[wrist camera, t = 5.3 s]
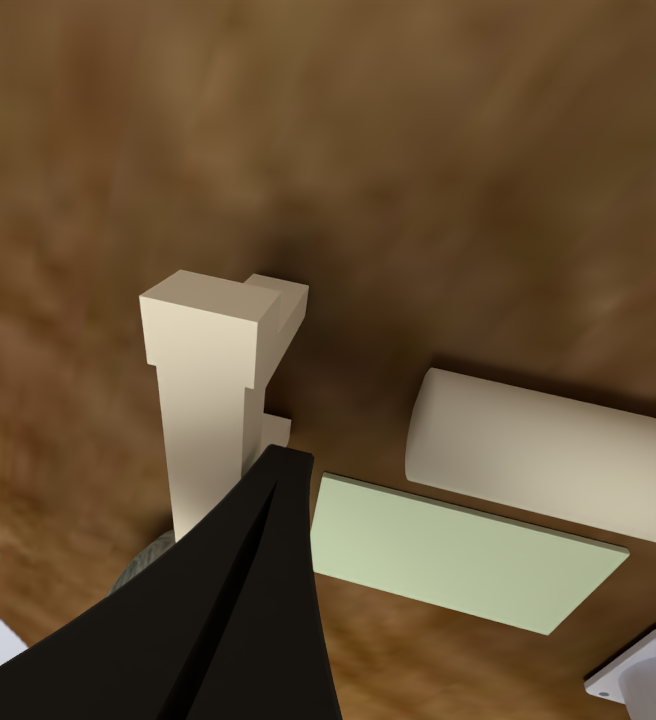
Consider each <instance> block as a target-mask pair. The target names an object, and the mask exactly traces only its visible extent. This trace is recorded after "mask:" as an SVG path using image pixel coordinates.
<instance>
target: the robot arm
mask: <svg viewBox="0 0 656 720" xmlns="http://www.w3.org/2000/svg"><path fill="white" fill-rule="evenodd" d="M313 463H314V456H313V455H312V454H311V453H307V452H303V451H299V450H295V449H291V448H287V447H283V446H279V445H275V444H270V445H268V446H267V447H266V449H265V450H264V452H263V453H262V454H261V456H260V457H259V458H258V459H257V461H256V462H255V463H254V464H253V466H252V467H251V468H250V469H249V470H248V472H247V473H246V474H245V475H244V476H243V477H242V479H241V480H240V481H239V482H238V483H237V484H236V485H235V486H234V487H233V488H232V489H231V490H230V492H229V493H228V494H227V495H226V496H225V497H224V498H223V499H222V500H221V501H220V502H219V503H218V504H217V505H216V506H215V507H214V508H213V509H212V510H211V511H210V512H209V513H208V514H207V515H206V516H205V517H204V518H203V519H202V520H201V521H200V522H199V523H197V524H196V525H195V526H194V527H193V528H192V529H191V530H190V531H189V532H188V533H187V534H186V535H184V536H183V537H182V538H181V539H180V540H179V541H178V542H176V543H175V544H174V545H173V546H172V547H171V548H169V549H168V550H167V551H166V552H165V553H163V554H162V555H161V556H160V557H159V558H157V559H156V560H155V561H154V562H152V563H151V564H150V565H149V566H147V567H146V568H145V569H143V570H142V571H141V572H140V573H138V574H137V575H136V576H134V577H133V578H132V579H131V580H129V581H128V582H127V583H125V584H124V585H123V586H121V587H120V588H118V589H117V590H116V591H114V592H113V593H112V594H110V595H109V596H107V597H106V598H104V599H103V600H101V601H100V602H99V603H97V604H96V605H94V606H93V607H91V608H90V609H88V610H87V611H85V612H84V613H83V614H81V615H80V616H78V617H77V618H75V619H74V620H72V621H71V622H69V623H68V624H66V625H65V626H63V627H62V628H60V629H59V630H57V631H56V632H54V633H53V634H51V635H49V636H48V637H46V638H44V639H43V640H41V641H40V642H38V643H36V644H35V645H33V646H32V647H30V648H28V649H27V650H25V651H24V652H22V653H20V654H19V655H17V656H15V657H14V658H12V659H11V660H9V661H7V662H6V663H4V664H2V665H1V666H0V720H343V719H342V715H341V711H340V707H339V703H338V699H337V695H336V691H335V686H334V682H333V678H332V673H331V668H330V663H329V659H328V654H327V649H326V644H325V640H324V635H323V629H322V624H321V618H320V612H319V606H318V600H317V593H316V586H315V579H314V570H313V561H312V550H311V538H310V515H309V494H310V479H311V474H312V468H313ZM584 686H585V689H586V692H588V693H589V694H591V695H594V696H598V697H602V698H605V699H609V700H612V701H616V702H619V703H623V704H626V707H627V710H628V713H629V715H630V718H631V720H656V629H655V630H653V631H652V632H651V633H649V634H648V635H647V636H645V637H644V638H643V639H641V640H640V641H639V642H637V643H636V644H635V645H633V646H632V647H631V648H629V649H628V650H627V651H625V652H624V653H623V654H621V655H620V656H619V657H617V658H616V659H615V660H613V661H612V662H611V663H609V664H608V665H607V666H605V667H604V668H603V669H601V670H600V671H599V672H597V673H596V674H595V675H594V676H592V677H591V678H590V679H588V680H587V681H586V682H585V683H584Z"/></svg>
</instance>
